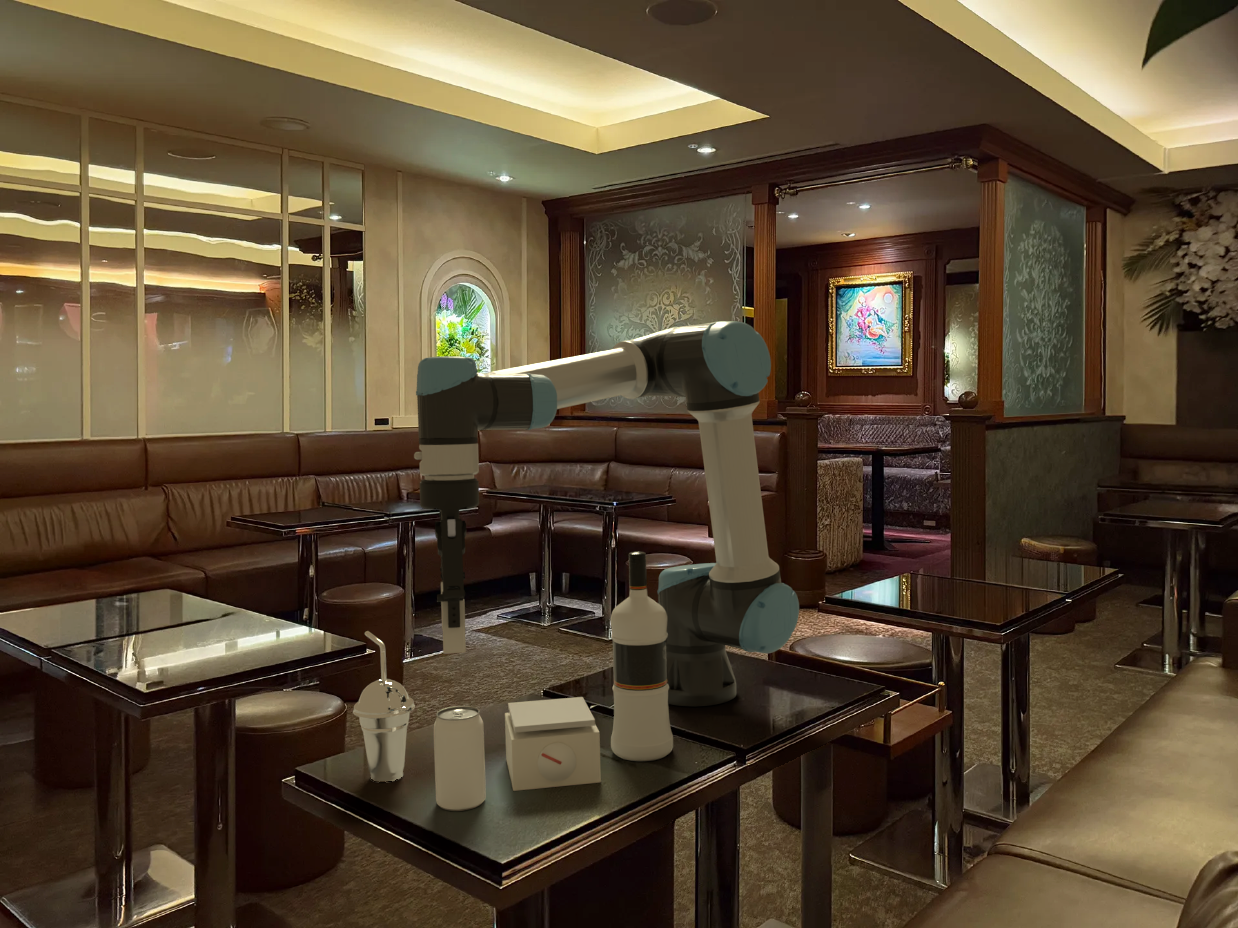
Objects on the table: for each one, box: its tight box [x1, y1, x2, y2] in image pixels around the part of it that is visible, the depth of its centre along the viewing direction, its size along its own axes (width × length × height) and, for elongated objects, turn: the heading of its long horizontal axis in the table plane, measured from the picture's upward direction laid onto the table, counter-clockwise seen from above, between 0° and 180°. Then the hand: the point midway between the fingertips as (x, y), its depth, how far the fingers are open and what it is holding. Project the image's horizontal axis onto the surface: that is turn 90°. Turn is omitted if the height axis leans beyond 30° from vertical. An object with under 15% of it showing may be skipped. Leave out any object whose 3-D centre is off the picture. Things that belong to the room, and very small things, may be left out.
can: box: [433, 705, 487, 812], centre depth 129 cm, size 6×6×12 cm
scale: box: [504, 696, 602, 792], centre depth 139 cm, size 12×13×9 cm
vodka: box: [610, 550, 674, 763], centre depth 145 cm, size 9×9×30 cm
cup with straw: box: [352, 630, 416, 783], centre depth 139 cm, size 8×9×20 cm
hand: (453, 640), depth 128 cm, fingers open, 13 cm apart
